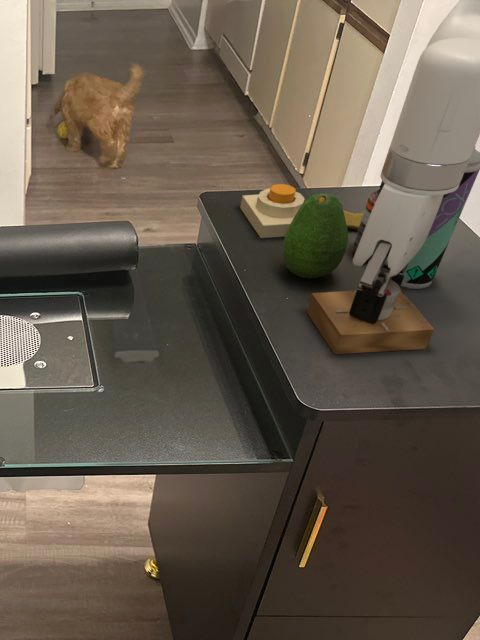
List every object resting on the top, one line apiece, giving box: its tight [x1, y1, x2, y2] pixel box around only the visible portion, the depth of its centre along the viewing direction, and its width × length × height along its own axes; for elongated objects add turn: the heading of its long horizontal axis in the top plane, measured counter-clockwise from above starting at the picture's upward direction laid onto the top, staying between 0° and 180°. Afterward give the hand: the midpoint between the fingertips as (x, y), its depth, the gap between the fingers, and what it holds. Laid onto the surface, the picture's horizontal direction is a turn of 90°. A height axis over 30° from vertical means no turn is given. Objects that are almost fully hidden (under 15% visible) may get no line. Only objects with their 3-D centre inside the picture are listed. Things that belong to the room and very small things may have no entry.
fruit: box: [282, 192, 349, 280], centre depth 97 cm, size 8×8×12 cm
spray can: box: [399, 145, 480, 290], centre depth 93 cm, size 6×6×20 cm
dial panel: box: [306, 289, 435, 355], centre depth 90 cm, size 11×9×3 cm
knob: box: [358, 277, 401, 320], centre depth 88 cm, size 4×4×4 cm
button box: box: [239, 187, 305, 239], centre depth 112 cm, size 8×10×4 cm
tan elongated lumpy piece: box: [343, 209, 364, 231], centre depth 109 cm, size 3×14×3 cm
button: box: [268, 183, 297, 204], centre depth 110 cm, size 4×4×2 cm
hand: (371, 307), depth 89 cm, fingers closed on knob, 4 cm apart
